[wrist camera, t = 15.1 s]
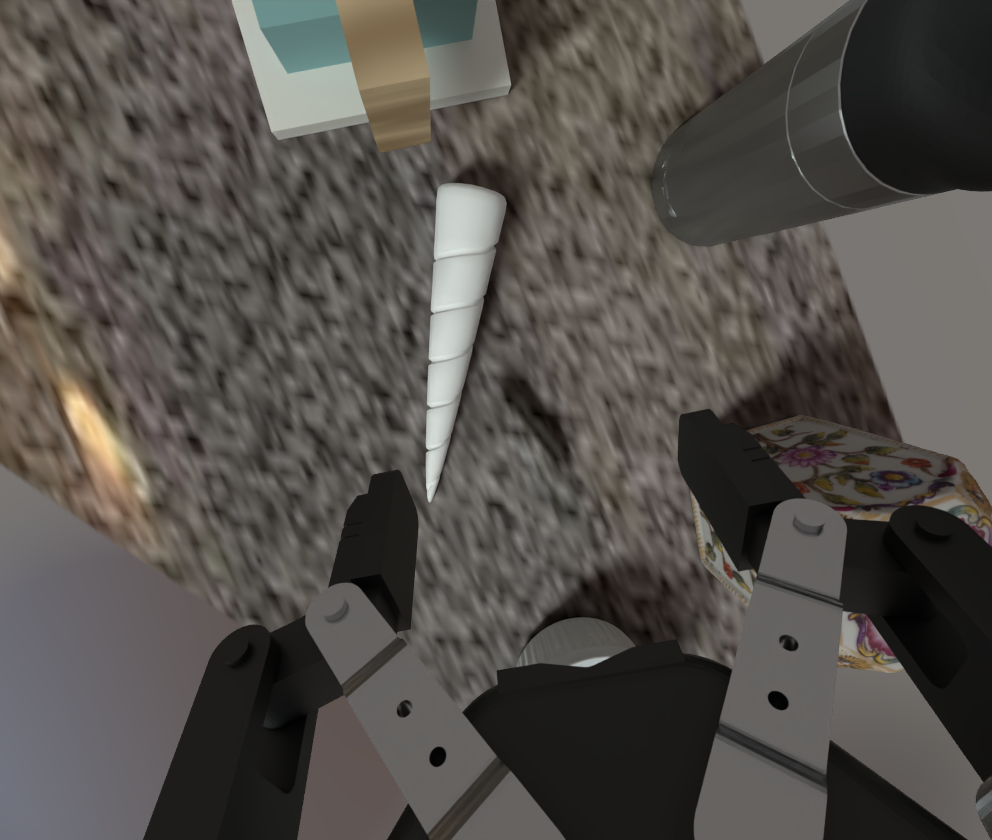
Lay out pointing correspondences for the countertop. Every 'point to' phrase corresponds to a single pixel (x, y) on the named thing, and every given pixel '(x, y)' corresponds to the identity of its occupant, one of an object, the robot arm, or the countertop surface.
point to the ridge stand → (328, 68)
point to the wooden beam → (389, 69)
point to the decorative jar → (853, 504)
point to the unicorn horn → (456, 304)
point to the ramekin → (575, 643)
